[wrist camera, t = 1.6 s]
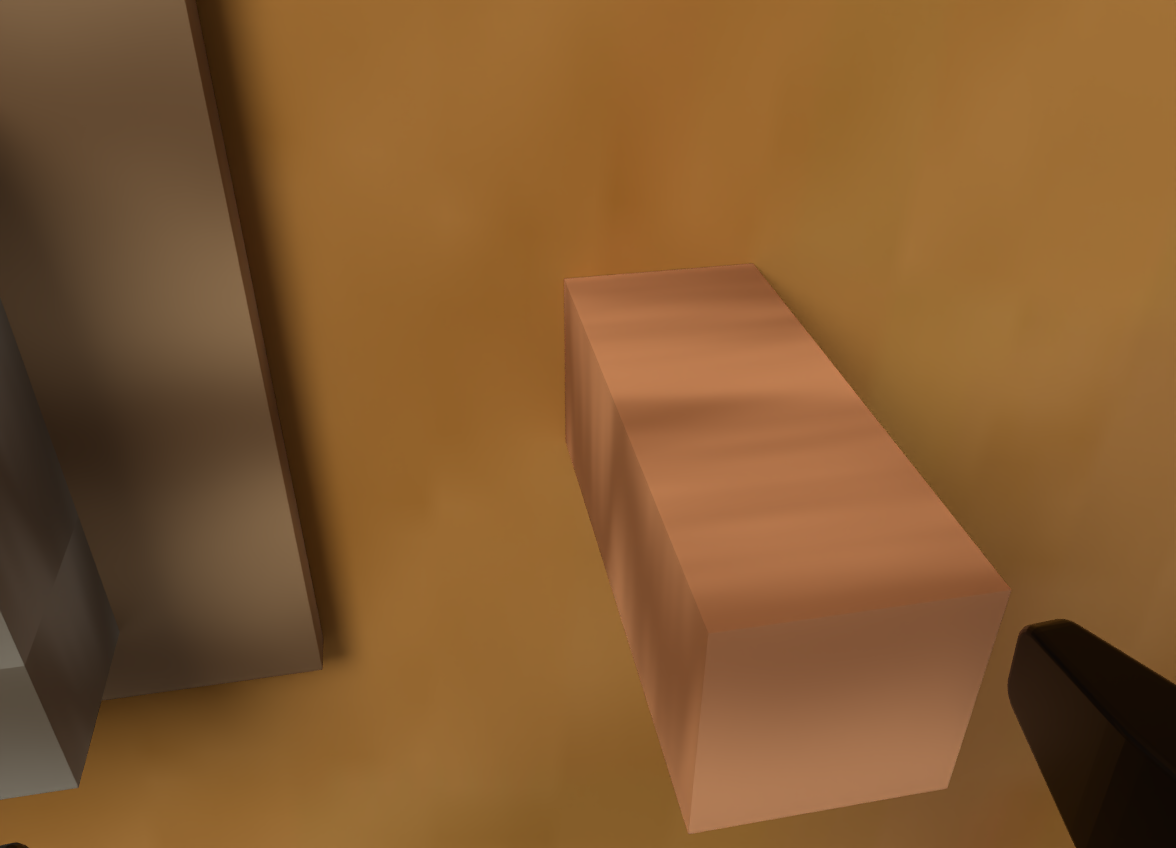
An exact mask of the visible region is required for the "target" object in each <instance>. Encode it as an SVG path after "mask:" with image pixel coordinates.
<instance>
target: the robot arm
mask: <svg viewBox="0 0 1176 848" xmlns="http://www.w3.org/2000/svg"><path fill="white" fill-rule="evenodd" d="M1008 694H1009V699H1010V703H1011V706H1012V708H1013V711H1014V713H1015V715H1016V717H1017V719H1018V722H1019V724H1020V726H1021V728H1022V730H1023V733H1024V735H1025V737H1026V739H1027V742H1028V744H1029V746H1030V748H1031V750H1032V753H1033V755H1034V757H1035V759H1036V761H1037V764H1038V766H1039V768H1040V770H1041V773H1042V775H1043V777H1044V779H1045V781H1046V784H1047V786H1048V788H1049V790H1050V792H1051V795H1052V797H1053V799H1054V801H1055V804H1056V806H1057V808H1058V810H1059V812H1060V815H1061V817H1062V819H1063V821H1064V823H1065V826H1066V828H1067V830H1068V832H1069V834H1070V837H1071V839H1072V841H1073V843H1074V845H1075V847H1076V848H1176V685H1175V684H1174V683H1172V682H1170V681H1169V680H1167V679H1166V678H1164V677H1162V676H1161V675H1159V674H1158V673H1156V672H1154V671H1153V670H1151V669H1149V668H1148V667H1146V666H1145V665H1143V664H1141V663H1140V662H1138V661H1136V660H1135V659H1133V658H1132V657H1130V656H1128V655H1127V654H1125V653H1123V652H1122V651H1120V650H1119V649H1117V648H1115V647H1114V646H1112V645H1110V644H1109V643H1107V642H1106V641H1104V640H1102V639H1101V638H1099V637H1097V636H1096V635H1094V634H1093V633H1091V632H1089V631H1088V630H1086V629H1084V628H1083V627H1081V626H1080V625H1078V624H1076V623H1074V622H1072V621H1069V620H1066V619H1055V620H1050V621H1046V622H1041V623H1036V624H1032V625H1028V626H1025V627H1024V628H1023V629H1022V630H1021V631H1020V633H1019V636H1018V639H1017V644H1016V648H1015V652H1014V656H1013V661H1012V665H1011V669H1010V673H1009V678H1008ZM0 848H28V847H27V846H26V845H23V844H20V843H10V844H6V845H1V846H0Z"/></svg>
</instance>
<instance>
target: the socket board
mask: <svg viewBox="0 0 1176 848" xmlns="http://www.w3.org/2000/svg"><path fill="white" fill-rule="evenodd" d="M322 669H323V634H322V629H321V624H320V619H319V614H318V609H317V604H316V599H315V594H314V589H313V584H312V579H311V574H310V569H309V564H308V559H307V554H306V549H305V544H304V539H303V534H302V529H301V524H300V519H299V514H298V509H297V504H296V499H295V494H294V489H293V484H292V479H291V474H290V469H289V464H288V459H287V454H286V449H285V444H284V439H283V434H282V429H281V424H280V419H279V414H278V409H277V404H276V399H275V394H274V389H273V384H272V379H271V374H270V369H269V364H268V359H267V354H266V349H265V344H264V339H263V334H262V329H261V324H260V319H259V314H258V309H257V304H256V299H255V294H254V289H253V284H252V279H251V274H250V269H249V264H248V259H247V254H246V249H245V244H244V239H243V234H242V229H241V224H240V219H239V214H238V209H237V204H236V199H235V194H234V189H233V184H232V179H231V174H230V169H229V164H228V159H227V154H226V149H225V144H224V139H223V134H222V129H221V124H220V119H219V115H218V110H217V105H216V100H215V95H214V90H213V85H212V80H211V75H210V70H209V65H208V60H207V55H206V50H205V45H204V40H203V35H202V30H201V25H200V20H199V15H198V10H197V5H196V0H0V800H1V799H8V798H14V797H21V796H27V795H34V794H40V793H47V792H53V791H60V790H66V789H73V788H78V787H79V783H80V780H81V776H82V772H83V768H84V765H85V761H86V757H87V753H88V749H89V746H90V742H91V738H92V734H93V731H94V727H95V723H96V719H97V715H98V712H99V708H100V704H101V701H102V700H109V699H116V698H123V697H131V696H138V695H145V694H152V693H159V692H166V691H173V690H180V689H188V688H195V687H202V686H209V685H216V684H223V683H230V682H237V681H244V680H252V679H259V678H266V677H273V676H280V675H287V674H294V673H301V672H309V671H316V670H322Z"/></svg>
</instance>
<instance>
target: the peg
mask: <svg viewBox="0 0 1176 848" xmlns="http://www.w3.org/2000/svg"><path fill="white" fill-rule="evenodd" d="M564 314H565V416H566V444H567V447H568V450H569V454H570V457H571V460H572V463H573V466H574V470H575V473H576V476H577V479H578V482H579V486H580V489H581V492H582V495H583V498H584V502H585V505H586V508H587V511H588V514H589V518H590V521H591V524H592V527H593V530H594V534H595V537H596V540H597V543H598V546H599V550H600V553H601V556H602V559H603V562H604V566H605V569H606V572H607V575H608V578H609V582H610V585H611V588H612V591H613V594H614V598H615V601H616V604H617V607H618V610H619V614H620V617H621V620H622V623H623V626H624V630H625V633H626V636H627V639H628V642H629V646H630V649H631V652H632V655H633V658H634V661H635V665H636V668H637V671H638V674H639V677H640V681H641V684H642V687H643V690H644V693H645V697H646V700H647V703H648V706H649V709H650V713H651V716H652V719H653V722H654V725H655V729H656V732H657V735H658V738H659V741H660V745H661V748H662V751H663V754H664V757H665V761H666V764H667V767H668V770H669V773H670V777H671V780H672V783H673V786H674V789H675V793H676V796H677V799H678V802H679V805H680V809H681V812H682V815H683V818H684V821H685V825H686V828H687V831H688V834H692V833H698V832H703V831H709V830H715V829H720V828H726V827H732V826H737V825H743V824H748V823H754V822H760V821H765V820H771V819H777V818H782V817H788V816H794V815H799V814H805V813H811V812H816V811H822V810H828V809H833V808H839V807H845V806H850V805H856V804H862V803H867V802H873V801H879V800H884V799H890V798H896V797H901V796H907V795H912V794H918V793H924V792H929V791H935V790H941V789H946V788H948V784H949V781H950V778H951V775H952V772H953V769H954V766H955V763H956V760H957V757H958V754H959V751H960V747H961V744H962V741H963V738H964V735H965V732H966V729H967V726H968V723H969V720H970V717H971V713H972V710H973V707H974V704H975V701H976V698H977V695H978V692H979V689H980V686H981V683H982V680H983V676H984V673H985V670H986V667H987V664H988V661H989V658H990V655H991V652H992V649H993V646H994V643H995V639H996V636H997V633H998V630H999V627H1000V624H1001V621H1002V618H1003V615H1004V612H1005V609H1006V605H1007V602H1008V599H1009V596H1010V593H1011V589H1010V587H1009V586H1008V585H1007V584H1006V582H1005V581H1004V580H1003V579H1002V577H1001V576H1000V575H999V574H998V572H997V571H996V570H995V569H994V567H993V566H992V565H991V563H990V562H989V561H988V560H987V558H986V557H985V556H984V555H983V553H982V552H981V551H980V550H979V548H978V547H977V546H976V544H975V543H974V542H973V541H972V539H971V538H970V537H969V536H968V534H967V533H966V532H965V531H964V529H963V528H962V527H961V526H960V524H959V523H958V522H957V520H956V519H955V518H954V517H953V515H952V514H951V513H950V512H949V510H948V509H947V508H946V507H945V505H944V504H943V503H942V502H941V500H940V499H939V498H938V496H937V495H936V494H935V493H934V491H933V490H932V489H931V488H930V486H929V485H928V484H927V483H926V481H925V480H924V479H923V478H922V476H921V475H920V474H919V472H918V471H917V470H916V469H915V467H914V466H913V465H912V464H911V462H910V461H909V460H908V459H907V457H906V456H905V455H904V454H903V452H902V451H901V450H900V448H899V447H898V446H897V445H896V443H895V442H894V441H893V440H892V438H891V437H890V436H889V435H888V433H887V432H886V431H885V430H884V428H883V427H882V426H881V424H880V423H879V422H878V421H877V419H876V418H875V417H874V416H873V414H872V413H871V412H870V411H869V409H868V408H867V407H866V406H865V404H864V403H863V402H862V400H861V399H860V398H859V397H858V395H857V394H856V393H855V392H854V390H853V389H852V388H851V387H850V385H849V384H848V383H847V381H846V380H845V379H844V378H843V376H842V375H841V374H840V373H839V371H838V370H837V369H836V368H835V366H834V365H833V364H832V363H831V361H830V360H829V359H828V357H827V356H826V355H825V354H824V352H823V351H822V350H821V349H820V347H819V346H818V345H817V344H816V342H815V341H814V340H813V339H812V337H811V336H810V335H809V333H808V332H807V331H806V330H805V328H804V327H803V326H802V325H801V323H800V322H799V321H798V320H797V318H796V317H795V316H794V315H793V313H792V312H791V311H790V309H789V308H788V307H787V306H786V304H785V303H784V302H783V301H782V299H781V298H780V297H779V296H778V294H777V293H776V292H775V291H774V289H773V288H772V287H771V285H770V284H769V283H768V282H767V280H766V279H765V278H764V277H763V275H762V274H761V273H760V272H759V270H758V269H757V268H756V267H755V265H754V264H741V265H728V266H716V267H704V268H691V269H679V270H667V271H654V272H642V273H630V274H617V275H605V276H593V277H581V278H568V279H564Z"/></svg>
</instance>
